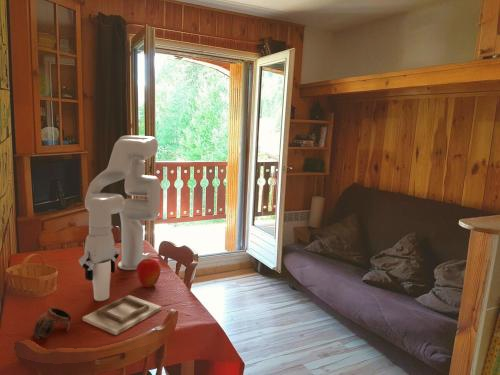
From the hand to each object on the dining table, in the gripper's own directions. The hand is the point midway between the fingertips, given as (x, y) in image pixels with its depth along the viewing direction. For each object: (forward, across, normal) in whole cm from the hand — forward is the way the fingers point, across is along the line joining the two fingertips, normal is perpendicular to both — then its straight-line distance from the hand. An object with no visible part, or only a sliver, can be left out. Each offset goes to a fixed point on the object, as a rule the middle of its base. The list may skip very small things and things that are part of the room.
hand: (100, 275), depth 136 cm
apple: (+9, -19, +6) cm, 22 cm away
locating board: (+9, +3, +16) cm, 18 cm away
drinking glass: (+9, -1, 0) cm, 9 cm away
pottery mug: (+10, +24, +7) cm, 26 cm away
